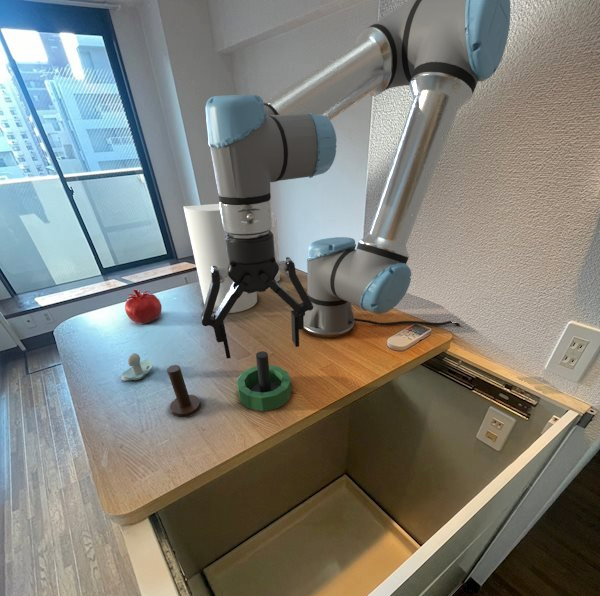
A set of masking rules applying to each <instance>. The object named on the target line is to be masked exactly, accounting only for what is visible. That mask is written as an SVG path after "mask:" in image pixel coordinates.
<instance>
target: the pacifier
mask: <svg viewBox="0 0 600 596" xmlns="http://www.w3.org/2000/svg"><path fill="white" fill-rule="evenodd" d="M127 364H128V366H129V367H130V368H128V369H126V370H125V371H124V372H123V373H122V374H121V380H122V381H124V382H128V381H132V380H133V381H139V380H141V379H144V377H146V376H147V374H149V373H150V372H151V371H152V369H153V366H154V365H153V362H152V361H151V360H150V359H144V360H141V357H140V354H138V353H137V352H136V353H135V352H134V353H131V354H130V355H129V357H128V359H127Z"/></svg>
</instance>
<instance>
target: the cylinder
mask: <svg viewBox="0 0 600 596" xmlns="http://www.w3.org/2000/svg"><path fill="white" fill-rule="evenodd" d="M183 211H184V216H185V221H186V226H187V230H188V235H189V239H190V245H191V248H192V253H193V258H194V264H195V267H196V271H197V276H198V282H199V286H200V291H201V295H202V300H203V304H204V305H205V301H206V298H207V294H208V291H209V287H210V284H211V280H212V277H211V267H212V266H216V267H217V268H228V266H229V259H228V253H227V247H226V240H225V236H226V235H227V232H225V231H224V228H223V222H222V216H221V210H220V204H219V203H211V204H210V203H209V204H196V205H183ZM232 284H233V280H232V279H231V278H230V277H229V276H227V277H225V280H224V282H222V283H220V289H219V292H218V296H217V299H216V302H215V306H214V309H213V312H212V313H215V312H216V311H217V309H218V308H219V306H220V304H221V303H222V301H223V300H224V298H225V297H226V295H227V293H228V292H229V290H230V288H231V285H232ZM257 302H258V294H257V291H256V292H253V293H249V294H248V293H247V292H243V293H242V295H241V296H240V297H239V298H238V299H237V300H236V302H235V304H234V305H233V307H232V308H231V310H230V311H229V313H228V314H234V313H240V312H244V311H246V310H249V309H251V308H253V307H254V306H255V305H257ZM204 305H203V306H204Z"/></svg>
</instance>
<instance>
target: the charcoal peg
mask: <svg viewBox="0 0 600 596" xmlns="http://www.w3.org/2000/svg"><path fill="white" fill-rule="evenodd" d="M255 361H256V366H257V369H258V378H259V383H257V384H255V385H253V386H252V387H251V391H254V392H260V393H264V392H269V391H273V390H275V389H277V388H278V387H280V385H278V384H276V383H274V382H271V381H270V373H269V365H270V363H269V362H270V361H269V353H268V352H267V351H264V350H263V351H258V352H256V353H255Z"/></svg>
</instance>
